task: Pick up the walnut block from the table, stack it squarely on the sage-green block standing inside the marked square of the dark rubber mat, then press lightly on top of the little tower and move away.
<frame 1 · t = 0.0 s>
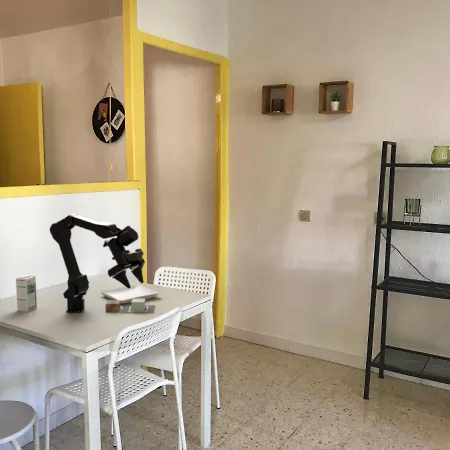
hand: (136, 285, 196), 15 cm above the table, tool tilted 35°, fingers open, 9 cm apart
syrup box: (26, 309, 210), on the table
sage block: (138, 309, 212), resting on mat
walnut block: (112, 310, 211), on the table
salad plate: (129, 298, 232), on the table
mat: (138, 310, 212), on the table
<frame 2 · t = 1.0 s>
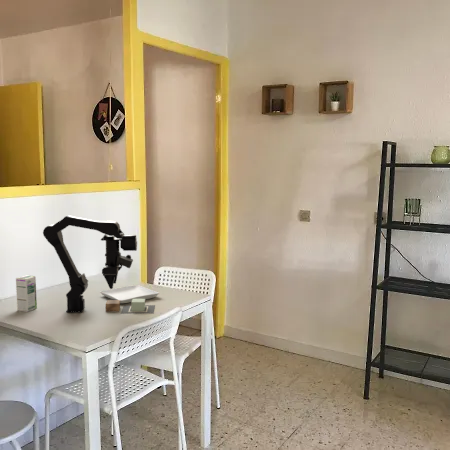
hand: (112, 286, 210), 11 cm above the table, tool pointing down, fingers open, 9 cm apart
nothing on the table moved.
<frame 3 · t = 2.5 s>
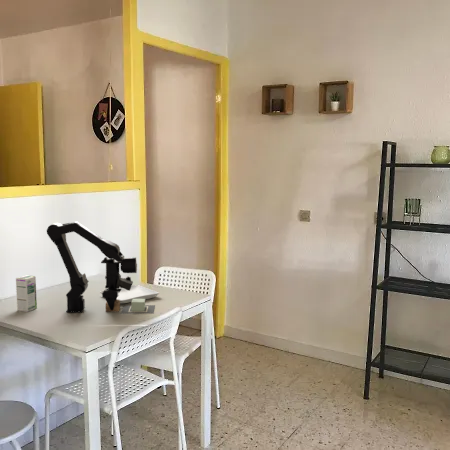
hand: (113, 308, 211), 1 cm above the table, tool pointing down, fingers closed on walnut block, 5 cm apart
walnut block: (113, 310, 211), on the table, touching gripper
everything else where it was.
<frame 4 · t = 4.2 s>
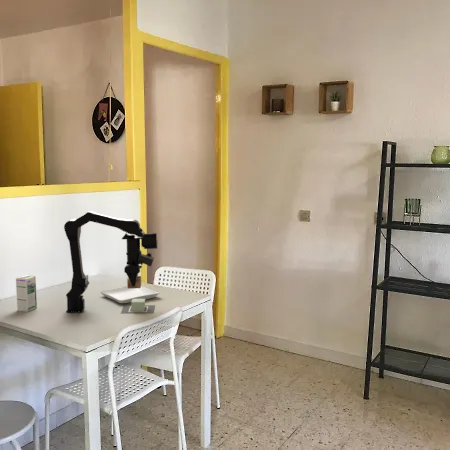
hand: (134, 284, 211), 12 cm above the table, tool pointing down, fingers closed on walnut block, 5 cm apart
walnut block: (134, 286, 211), point 11 cm above the table, touching gripper
everything else where it was.
when the fingers open (7 cm above the table, at t = 5.8 s): walnut block drops 1 cm, resting on sage block.
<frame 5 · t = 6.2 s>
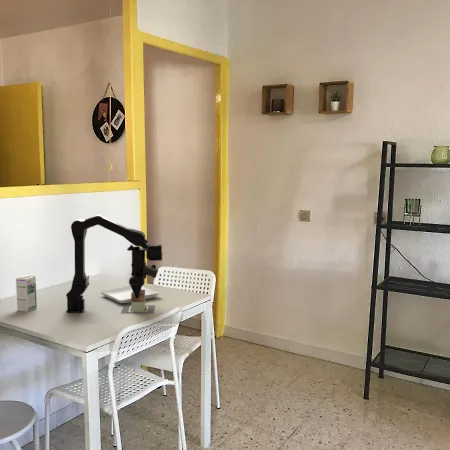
hand: (138, 295, 212), 7 cm above the table, tool pointing down, fingers open, 9 cm apart
sage block: (138, 309, 212), resting on mat, touching walnut block
walnut block: (138, 300, 212), point 4 cm above the table, touching sage block
everything else where it was.
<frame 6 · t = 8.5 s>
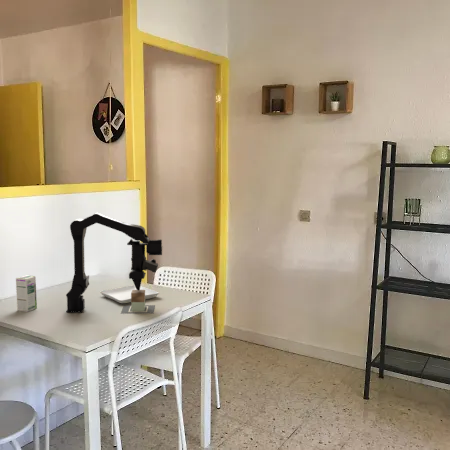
hand: (138, 290, 211), 9 cm above the table, tool pointing down, fingers closed
nothing on the table moved.
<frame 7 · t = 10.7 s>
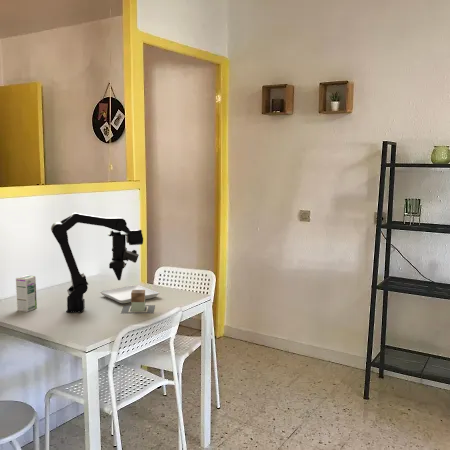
hand: (119, 280, 216), 12 cm above the table, tool pointing down, fingers closed
nothing on the table moved.
at the end: walnut block 0.1 cm off-centre on the sage block, point 4.0 cm above the sage block's base; walnut block tilted 0°; sage block inside the target area (0.0 cm from its centre), resting on mat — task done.
